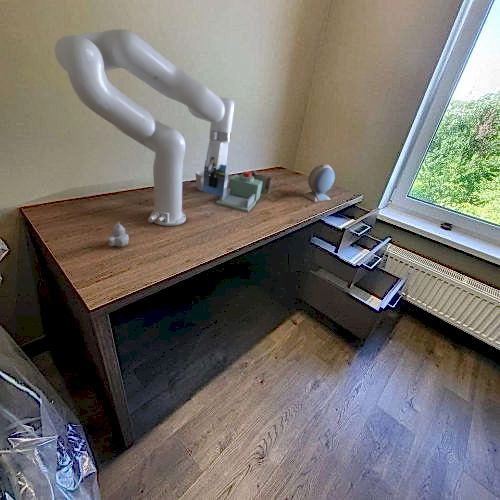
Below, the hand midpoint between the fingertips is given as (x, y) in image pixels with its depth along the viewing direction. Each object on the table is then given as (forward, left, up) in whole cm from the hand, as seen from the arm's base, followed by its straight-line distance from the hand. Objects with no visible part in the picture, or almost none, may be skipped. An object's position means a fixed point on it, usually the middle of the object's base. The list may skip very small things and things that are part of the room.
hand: (215, 184), depth 109 cm
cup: (+19, +14, -11) cm, 26 cm away
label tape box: (0, 0, -3) cm, 3 cm away
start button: (+25, -5, -1) cm, 25 cm away
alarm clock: (+50, -38, -11) cm, 64 cm away
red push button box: (+25, -5, -11) cm, 27 cm away
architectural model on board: (+39, -9, -11) cm, 41 cm away
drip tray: (+14, -5, -11) cm, 18 cm away
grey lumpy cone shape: (-40, +13, -11) cm, 44 cm away
